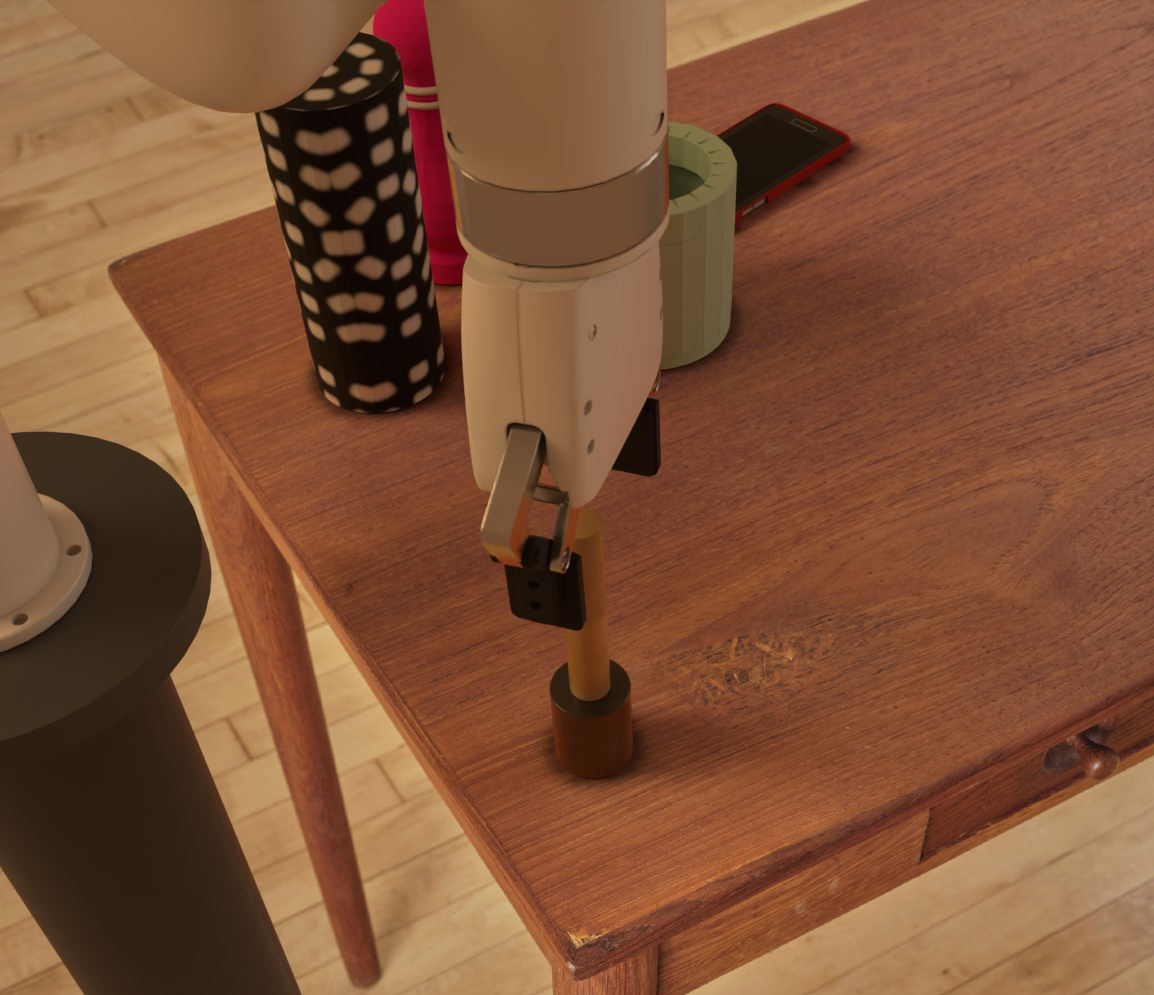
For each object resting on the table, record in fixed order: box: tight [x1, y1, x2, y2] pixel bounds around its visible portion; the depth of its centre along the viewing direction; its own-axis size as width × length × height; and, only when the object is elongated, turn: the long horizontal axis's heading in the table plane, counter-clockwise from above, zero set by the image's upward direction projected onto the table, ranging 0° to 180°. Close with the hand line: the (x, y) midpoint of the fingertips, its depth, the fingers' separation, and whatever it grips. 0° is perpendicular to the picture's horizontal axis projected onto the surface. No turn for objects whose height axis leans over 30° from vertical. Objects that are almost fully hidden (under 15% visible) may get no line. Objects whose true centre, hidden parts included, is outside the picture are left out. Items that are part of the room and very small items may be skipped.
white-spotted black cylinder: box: [253, 31, 446, 414], centre depth 88 cm, size 8×8×20 cm
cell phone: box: [716, 102, 851, 224], centre depth 107 cm, size 8×15×1 cm, turn 134°
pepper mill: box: [372, 0, 468, 286], centre depth 95 cm, size 7×7×20 cm
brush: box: [548, 506, 634, 780], centre depth 71 cm, size 4×4×16 cm
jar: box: [659, 120, 737, 371], centre depth 94 cm, size 10×10×11 cm
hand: (589, 540), depth 65 cm, fingers open, 9 cm apart
